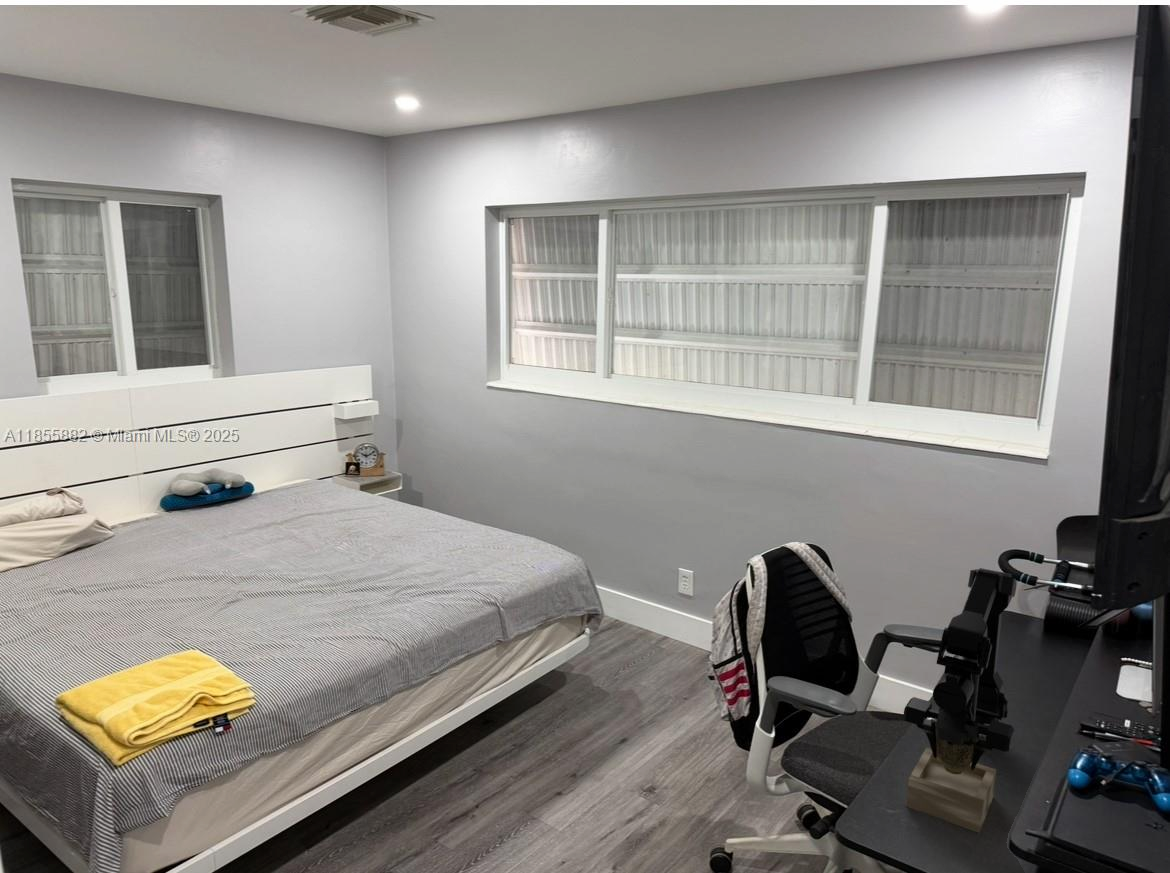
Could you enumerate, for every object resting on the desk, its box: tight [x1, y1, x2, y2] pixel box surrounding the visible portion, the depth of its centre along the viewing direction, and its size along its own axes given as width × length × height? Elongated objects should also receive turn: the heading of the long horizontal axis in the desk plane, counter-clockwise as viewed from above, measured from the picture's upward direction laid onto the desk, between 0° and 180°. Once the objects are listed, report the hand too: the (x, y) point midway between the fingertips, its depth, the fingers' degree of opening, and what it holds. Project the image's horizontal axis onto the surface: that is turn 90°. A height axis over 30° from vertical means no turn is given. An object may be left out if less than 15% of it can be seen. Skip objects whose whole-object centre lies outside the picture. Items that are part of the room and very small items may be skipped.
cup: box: [936, 736, 978, 774], centre depth 156 cm, size 8×7×8 cm
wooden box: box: [906, 746, 997, 834], centre depth 158 cm, size 13×13×6 cm
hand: (953, 762), depth 157 cm, fingers closed on cup, 6 cm apart
